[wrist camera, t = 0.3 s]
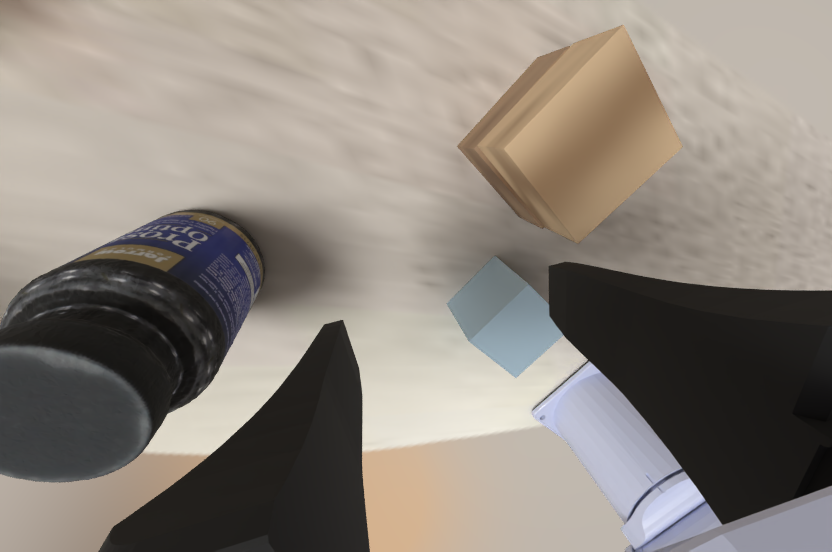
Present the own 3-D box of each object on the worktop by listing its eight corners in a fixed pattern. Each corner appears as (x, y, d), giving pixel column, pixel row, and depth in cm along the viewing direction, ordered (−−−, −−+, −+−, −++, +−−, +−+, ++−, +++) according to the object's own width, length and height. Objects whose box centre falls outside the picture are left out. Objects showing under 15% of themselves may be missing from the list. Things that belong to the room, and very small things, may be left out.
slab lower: (590, 142, 20) (628, 144, 17) (517, 216, 21) (542, 228, 18) (535, 58, 18) (569, 46, 15) (455, 146, 19) (474, 149, 16)
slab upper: (630, 143, 17) (682, 146, 15) (544, 226, 18) (578, 243, 16) (573, 43, 15) (623, 25, 12) (477, 145, 16) (503, 148, 13)
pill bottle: (232, 192, 17) (81, 278, 7) (285, 290, 20) (228, 452, 10) (113, 231, 17) (-216, 377, 7) (184, 326, 19) (19, 530, 10)
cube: (532, 293, 24) (571, 327, 20) (487, 336, 24) (515, 378, 20) (494, 255, 22) (528, 284, 18) (446, 303, 22) (468, 341, 18)
